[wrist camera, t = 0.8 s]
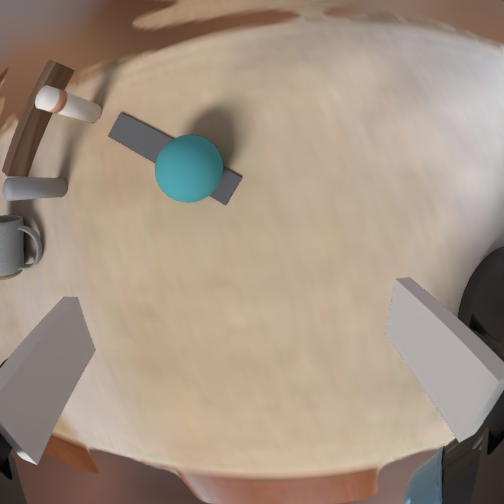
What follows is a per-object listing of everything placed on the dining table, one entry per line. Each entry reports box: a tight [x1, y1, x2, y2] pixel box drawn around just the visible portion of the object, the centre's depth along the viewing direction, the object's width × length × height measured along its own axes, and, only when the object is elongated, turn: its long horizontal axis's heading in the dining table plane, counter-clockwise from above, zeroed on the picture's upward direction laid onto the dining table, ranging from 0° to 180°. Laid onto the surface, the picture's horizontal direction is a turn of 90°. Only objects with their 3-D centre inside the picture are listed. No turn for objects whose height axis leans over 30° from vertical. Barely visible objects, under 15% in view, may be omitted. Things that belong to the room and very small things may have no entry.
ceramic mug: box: [0, 215, 43, 280], centre depth 29 cm, size 11×8×8 cm
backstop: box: [2, 60, 74, 176], centre depth 26 cm, size 2×16×4 cm, turn 148°
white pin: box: [35, 85, 102, 123], centre depth 23 cm, size 2×2×9 cm
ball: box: [155, 135, 223, 202], centre depth 24 cm, size 6×6×6 cm
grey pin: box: [3, 178, 67, 201], centre depth 25 cm, size 2×2×9 cm
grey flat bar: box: [108, 113, 242, 205], centre depth 27 cm, size 16×3×1 cm, turn 58°
